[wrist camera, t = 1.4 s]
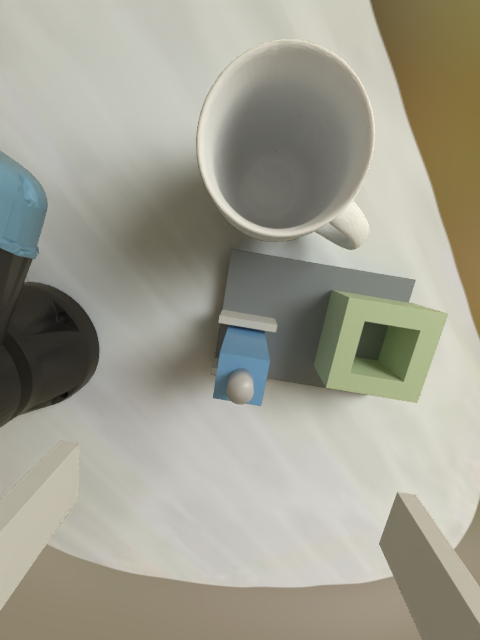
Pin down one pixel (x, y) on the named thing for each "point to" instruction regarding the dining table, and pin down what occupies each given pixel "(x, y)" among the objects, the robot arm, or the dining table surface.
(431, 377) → the dining table surface
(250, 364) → the plug
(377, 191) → the dining table surface
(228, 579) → the dining table surface
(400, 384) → the port
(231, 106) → the mug
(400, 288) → the panel
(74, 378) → the robot arm
